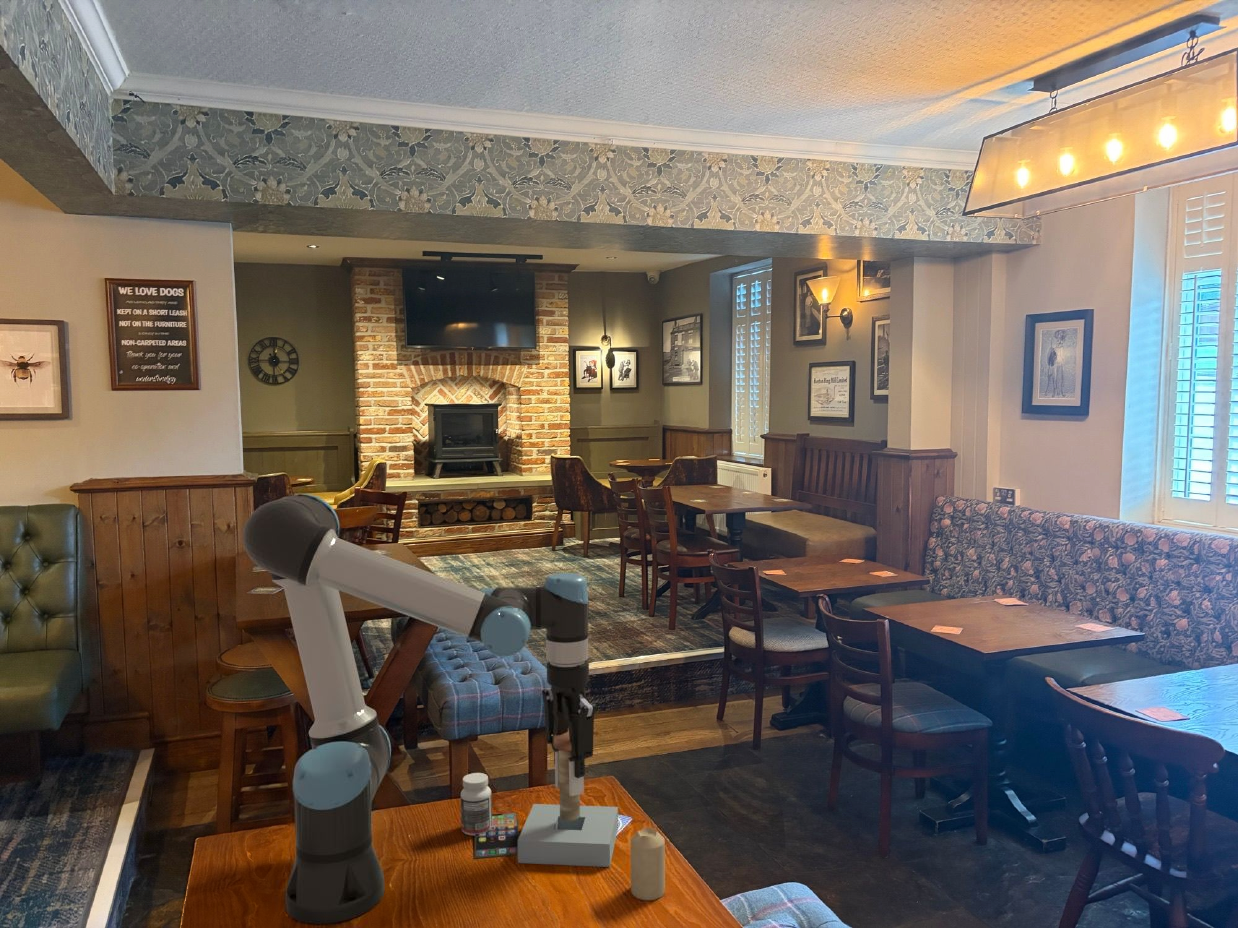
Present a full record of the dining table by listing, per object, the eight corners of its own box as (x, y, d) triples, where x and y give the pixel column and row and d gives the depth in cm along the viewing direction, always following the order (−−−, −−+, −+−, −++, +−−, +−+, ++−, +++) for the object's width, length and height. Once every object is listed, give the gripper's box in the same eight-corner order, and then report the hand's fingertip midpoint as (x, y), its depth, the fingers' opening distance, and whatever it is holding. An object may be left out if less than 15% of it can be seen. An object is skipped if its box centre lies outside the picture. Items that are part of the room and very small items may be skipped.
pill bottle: (468, 821, 165) (467, 770, 164) (496, 823, 163) (495, 772, 163) (456, 835, 159) (455, 782, 159) (485, 837, 158) (484, 784, 157)
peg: (552, 822, 153) (551, 742, 152) (557, 808, 158) (556, 730, 157) (582, 823, 152) (581, 742, 151) (586, 809, 157) (585, 731, 157)
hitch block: (518, 862, 149) (517, 840, 149) (533, 824, 163) (533, 803, 163) (609, 866, 148) (609, 843, 147) (618, 827, 161) (617, 806, 161)
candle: (662, 902, 137) (661, 841, 136) (628, 898, 138) (627, 837, 137) (667, 883, 142) (667, 824, 141) (634, 880, 143) (634, 821, 143)
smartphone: (474, 861, 151) (474, 854, 151) (475, 821, 165) (474, 814, 165) (520, 857, 152) (520, 850, 152) (517, 817, 167) (517, 811, 167)
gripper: (613, 667, 149) (614, 798, 151) (557, 647, 162) (559, 769, 163) (578, 675, 145) (580, 811, 146) (524, 655, 157) (526, 780, 159)
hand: (569, 789), depth 155 cm, fingers closed on peg, 3 cm apart
